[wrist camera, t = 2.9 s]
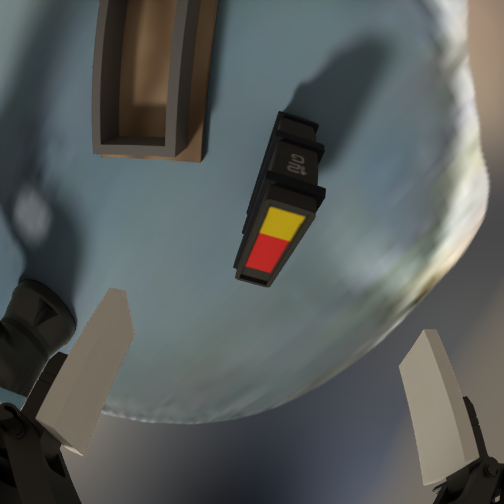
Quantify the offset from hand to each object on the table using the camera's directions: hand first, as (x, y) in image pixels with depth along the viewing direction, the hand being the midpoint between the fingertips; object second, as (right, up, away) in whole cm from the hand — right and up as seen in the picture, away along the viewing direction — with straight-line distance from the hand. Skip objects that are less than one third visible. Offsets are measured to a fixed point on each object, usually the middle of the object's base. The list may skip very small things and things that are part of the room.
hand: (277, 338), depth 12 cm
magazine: (+2, +12, +19) cm, 23 cm away
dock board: (-11, +23, +13) cm, 29 cm away
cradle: (-11, +22, +12) cm, 28 cm away
